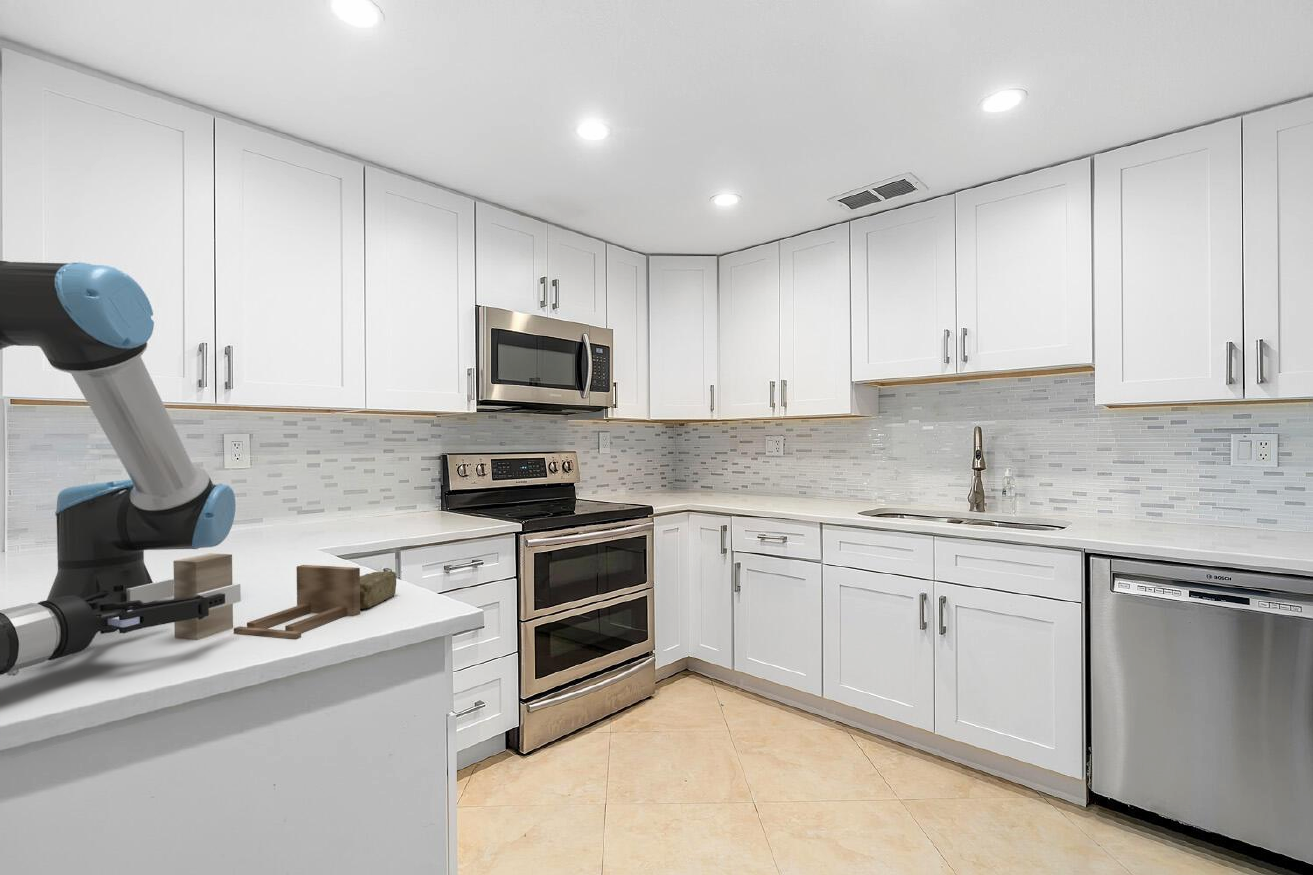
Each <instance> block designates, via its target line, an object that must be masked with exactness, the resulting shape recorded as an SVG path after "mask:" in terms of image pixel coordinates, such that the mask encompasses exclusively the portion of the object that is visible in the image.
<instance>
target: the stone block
mask: <svg viewBox="0 0 1313 875" xmlns="http://www.w3.org/2000/svg"><path fill="white" fill-rule="evenodd" d="M396 588H397V573H396V572H395V571H391V570H390V571H374V572H370V573H366V574H364V575H363V574H362V575H360V609H363V610H364V609H369V608H372V607H375V606H376V604H377V605H378V604H380V603H382V602H384V600H385V601H386V600H388V599H390V598H391V597H393V596H394V595H395V594H396V590H397V589H396Z"/></svg>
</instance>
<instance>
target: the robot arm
mask: <svg viewBox="0 0 1313 875" xmlns="http://www.w3.org/2000/svg"><path fill="white" fill-rule="evenodd" d="M153 311H154V310H153V309H152V305H151V302H150V300H149V298H148V296H147V294H146V293H145V291H144V290H143V288H142V287H141V285H139V283H138V281H136V280H135V279H134V278H133V277H131V276H130V275H129V274H128V273H126V272H124V271H121V270H119V269H117V268H116V267H112V266H109V265H102V264H91V263H87V262H80V261H79V262H76V261H75V262H74V261H73V262H69V263H68V262H34V261H33V262H31V261H28V262H27V261H25V262H23V261H7V260H0V351H1V350H3V349H6V348H8V347H11V346H12V347H13V346H23V347H25V346H27V347H28V346H29V347H39V349H41V350H42V353H43V355H44V356H45V357H46V359H47V360H48V362H49V364H50V365H51V367H52V368H54V369H56V370H58V371H59V372H60V371H61V372H64V373H69V374H71V377H72V378H73V380H74V381H75V384H76V385H77V387H78V389H79V390H80V392H81V394H82V396H83V397H84V399H85V401H86V403H87V404H88V406H89V408H90V410H91V411H92V413H93V415H94V417H95V418H96V419H97V422H98V424H99V425H100V427H101V430H102V431H103V432H104V434H105V436H106V438H107V439H108V442H109V443H110V445H111V446H112V449H113V450H114V451H115V454H116V455H117V457H118V458H119V460H120V462H121V464H122V465H123V467H124V469H125V472H126V473H127V474H128V477H129V478H130V479H121V480H114V481H108V482H107V481H106V482H105V481H104V482H98V483H91V484H85V485H76V486H75V485H74V486H69V487H66V488H63V489H62V490H61V491H60V492H59V493H58V494H57V498H56V499H57V501H56V511H55V512H54V515H55V517H56V545H57V546H56V547H57V548H56V553H57V554H56V555H57V556H56V558H57V573H56V576H55V578H54V580H53V583H52V584H51V585H52V586H51V588H50V591H49V593H48V596H47V598H46V599H45V600H41V601H39V602H37V603H35V602H31V603H26V604H22V605H17V606H13V607H9V608H5V609H0V676H2V675H5V674H7V676H8V677H9V676H16V675H18V673H19V671H20V669H23V668H28V667H32V666H35V665H39V664H42V663H44V662H46V661H54V660H57V659H59V658H61V659H62V658H64V657H67V656H69V655H73V654H76V653H79V652H82V651H84V650H86V649H87V648H88V647H89V646H90V645H91V644H92V642H93V640H94V638H95V637H96V635H97V634H98V633H99V632H100V634H103V635H104V634H110V633H115V632H117V631H118V632H119V634H127V633H129V632H133V631H137V630H141V629H144V628H145V629H146V628H152V627H157V626H162V625H166V624H172V623H174V622H178V621H183V620H189V619H194V618H198V620H200V619H203V618H204V617H206V616H208V615H209V610H212V609H216V608H219V607H222V606H226V605H229V604H233V605H234V604H236V603H240V602H241V600H242V599H241V598H242V596H241V595H242V594H241V583H234V584H233V583H232V585H229V586H225V587H222V588H218V589H214V590H210V591H206V592H203V593H199V594H196V596H195V597H187V598H180V599H174V598H173V599H172V598H171V597H174V578H172V579H171V578H169V579H164V580H160V581H155V582H153V580H152V577H151V575H150V573H149V570H148V568H147V567H146V564H145V558H144V557H145V555H144V554H145V551H156V550H157V551H160V550H162V551H163V550H172V551H173V550H198V549H205V548H206V549H207V548H213V547H216V546H218V545H220V544H221V543H222V542H224V541H225V539H227V537H228V535H229V534H230V531H231V530H232V527H233V525H234V520H235V514H236V508H237V507H236V496H235V493H234V490H233V489H232V487H231V486H230V485H227V484H223V483H218V484H214V483H213V481H212V480H211V477H210V475H209V473H208V472H207V471H206V469H204V468H202V467H200V466H198V465H193V463H192V460H191V459H190V457H189V454H188V453H187V451H186V450H187V449H186V448H185V447H184V445H183V442H182V440H181V438H180V436H179V434H178V431H177V429H176V428H175V425H174V423H173V421H172V419H171V417H170V415H169V413H168V411H167V409H166V407H165V404H164V403H163V400H162V398H161V395H160V394H159V392H158V390H157V388H156V386H155V384H154V381H153V380H152V377H151V375H150V373H149V371H148V369H147V367H146V365H145V363H144V361H143V359H142V356H143V354H144V353H145V352H146V351H147V348H148V341H149V340H150V338H151V337H152V335H153V331H154V329H155V328H154V326H155V321H154V320H153V319H152V316H154V312H153ZM168 598H171V599H168ZM164 599H165V600H164Z"/></svg>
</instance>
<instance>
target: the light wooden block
mask: <svg viewBox="0 0 1313 875" xmlns="http://www.w3.org/2000/svg"><path fill="white" fill-rule="evenodd" d="M172 563H173V579H174V596H173V599H180V598H187V597H195V596H196V594H199V593H203V592H206V591H210V590H214V589H218V588H222V587H225V586H229V585H233V554H230V553H229V554H228V553H207V554H206V553H204V554H201V555H196V556H190V557H186V558H185V557H184V558H181V559H176V560H173V562H172ZM233 605H234V603H233V604H229V605H226V606H222V607H219V608H216V609H212V610H209V615H208V616H206V617H204V618H203V619H200V620H198V618H194V619H189V620H183V621H178V622H173V623H174V638H175V639H181V640H183V639H184V640H191V639H192V640H191V641H193V640H194V641H198V640H201V639H204V638H207V637H210V636H213V635H216V634H220V633H222V632H225V631H228V630H231V629H234V609H233V608H234V607H233Z"/></svg>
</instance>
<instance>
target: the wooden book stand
mask: <svg viewBox="0 0 1313 875" xmlns="http://www.w3.org/2000/svg"><path fill="white" fill-rule="evenodd" d="M360 569H361V568H360V567H351V566H349V567H348V566H334V565H333V566H331V565H318V564H317V565H314V564H313V565H312V564H302V565H297V566H296V606H292V607H289V608H287V609H284V610H280V611H278V612H274V613H270V614H269V615H267V616H262V617H260V618H257V619H254V620H251V621H248V622H246V626H242V625H241V626H240V625H239V626H237V627H233V634H237V635H248V636H258V637H259V636H260V637H270V638H277V639H278V638H281V639H289V640H290V639H291V640H298V639H299V638H301V637H302V634H303V633H306V632H308V631H310V630H314V629H315V628H318V627H321V626H323V625H326V624H328V623H331V622H333V621H336V620H339V619H341V618H344V617H347V616H349V617H355V616H357V615H360V614H361V608H360V576H361V575H360V574H361V570H360ZM311 612H313V613H311ZM308 614H314V615H312V616H309V617H306V618H304V619H301V620H298V621H296V622H293V623H290V624H287V625H285V629H272V627H274V626H277V625H280V624H283V623H286V622H288V621H289V622H290V621H292V620H295V619H297V618H300V617H302V616H305V615H308ZM294 618H295V619H294ZM338 618H339V619H338Z"/></svg>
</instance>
